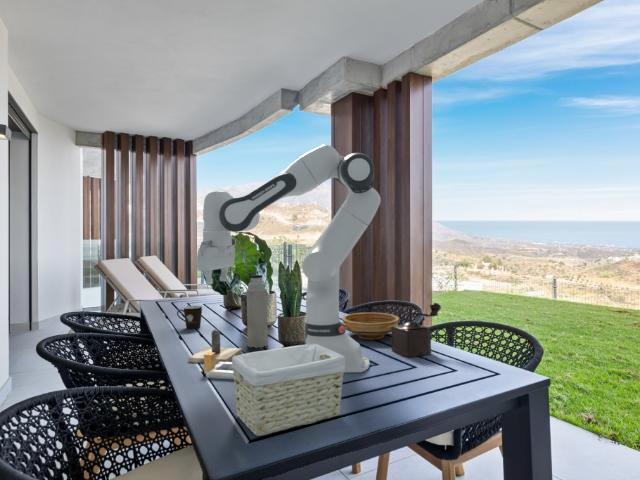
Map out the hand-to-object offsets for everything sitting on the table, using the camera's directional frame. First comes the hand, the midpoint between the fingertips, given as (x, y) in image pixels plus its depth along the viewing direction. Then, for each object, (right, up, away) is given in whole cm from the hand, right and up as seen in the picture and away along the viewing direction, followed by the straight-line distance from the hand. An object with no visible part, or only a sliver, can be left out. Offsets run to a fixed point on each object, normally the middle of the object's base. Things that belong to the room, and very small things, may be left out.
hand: (216, 282), depth 136 cm
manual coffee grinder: (+70, -27, +15) cm, 77 cm away
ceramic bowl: (+56, -27, +40) cm, 74 cm away
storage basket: (+27, -29, -37) cm, 54 cm away
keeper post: (-3, -28, +13) cm, 31 cm away
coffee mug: (-28, -28, +64) cm, 75 cm away
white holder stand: (+4, -28, -5) cm, 29 cm away
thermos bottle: (+9, -28, +29) cm, 41 cm away
